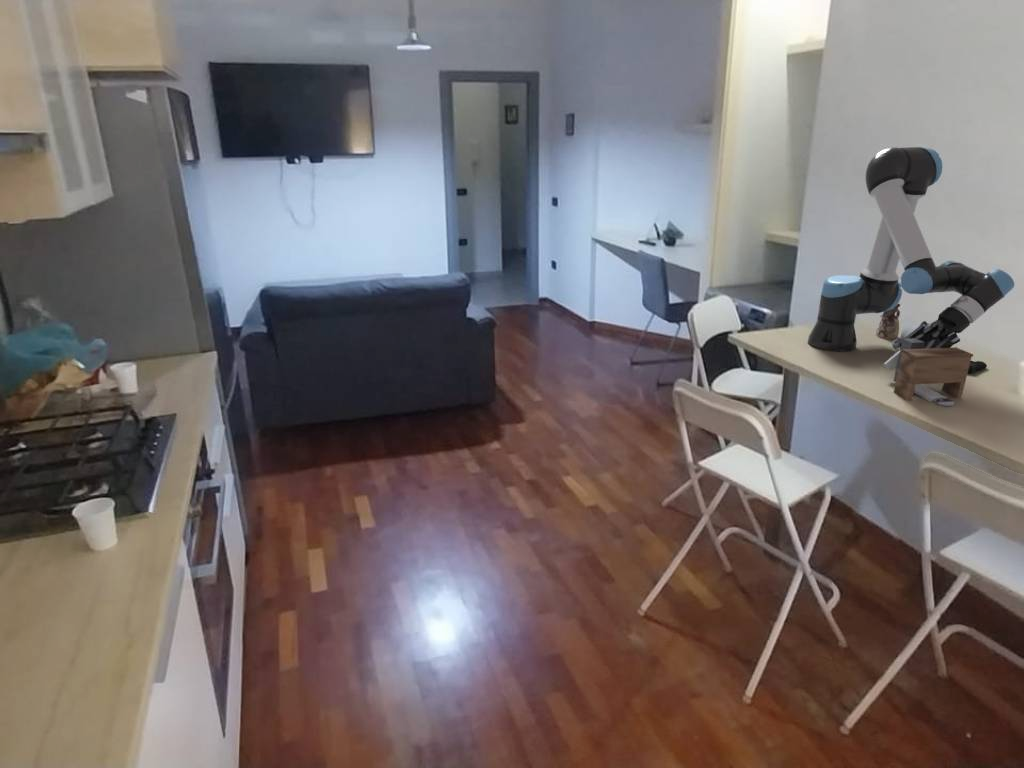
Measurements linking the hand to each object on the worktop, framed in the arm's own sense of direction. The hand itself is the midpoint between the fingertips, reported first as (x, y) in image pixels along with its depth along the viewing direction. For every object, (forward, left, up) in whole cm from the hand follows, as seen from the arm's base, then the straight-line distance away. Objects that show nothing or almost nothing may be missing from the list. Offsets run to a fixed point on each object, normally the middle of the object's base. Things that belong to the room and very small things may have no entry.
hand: (893, 370), depth 196 cm
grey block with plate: (+6, +4, -4) cm, 8 cm away
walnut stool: (+10, +4, -4) cm, 11 cm away
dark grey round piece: (+17, +4, -4) cm, 18 cm away
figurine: (-46, +30, -4) cm, 55 cm away
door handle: (-16, +30, -5) cm, 35 cm away
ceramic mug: (-31, +28, -4) cm, 42 cm away
